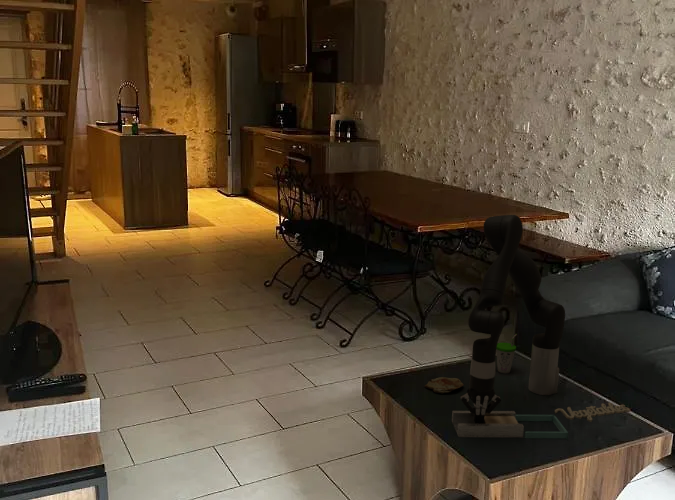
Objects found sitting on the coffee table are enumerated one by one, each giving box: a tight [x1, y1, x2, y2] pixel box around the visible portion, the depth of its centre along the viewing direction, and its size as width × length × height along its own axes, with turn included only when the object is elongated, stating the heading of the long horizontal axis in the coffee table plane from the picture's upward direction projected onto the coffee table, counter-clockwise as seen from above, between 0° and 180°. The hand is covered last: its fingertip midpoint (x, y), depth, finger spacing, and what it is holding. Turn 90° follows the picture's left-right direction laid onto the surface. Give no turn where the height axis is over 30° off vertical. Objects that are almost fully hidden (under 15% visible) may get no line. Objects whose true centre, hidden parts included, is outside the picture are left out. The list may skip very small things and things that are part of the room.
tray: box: [515, 414, 569, 441], centre depth 206 cm, size 13×12×3 cm
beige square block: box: [483, 416, 502, 424], centre depth 205 cm, size 5×5×3 cm
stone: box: [424, 376, 465, 395], centre depth 236 cm, size 13×10×3 cm
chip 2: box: [499, 416, 519, 424], centre depth 205 cm, size 5×5×3 cm
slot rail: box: [451, 410, 525, 438], centre depth 205 cm, size 20×11×4 cm, turn 92°
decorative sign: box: [554, 402, 631, 423], centre depth 220 cm, size 26×1×10 cm
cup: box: [496, 333, 517, 374], centre depth 252 cm, size 8×8×15 cm
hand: (478, 424), depth 205 cm, fingers closed
